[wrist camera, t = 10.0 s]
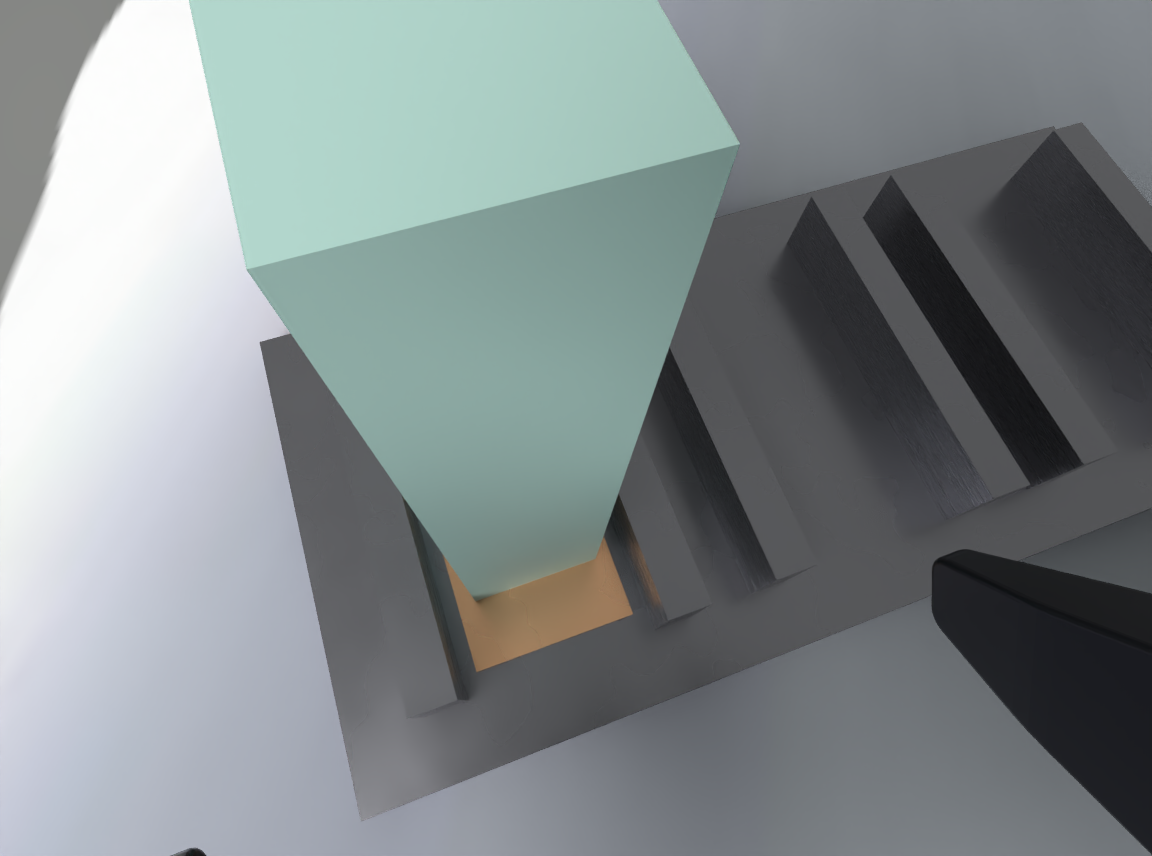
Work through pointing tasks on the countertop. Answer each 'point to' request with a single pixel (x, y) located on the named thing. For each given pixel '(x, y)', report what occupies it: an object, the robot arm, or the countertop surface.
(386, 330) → the block
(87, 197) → the countertop surface
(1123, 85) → the countertop surface
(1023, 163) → the stand
